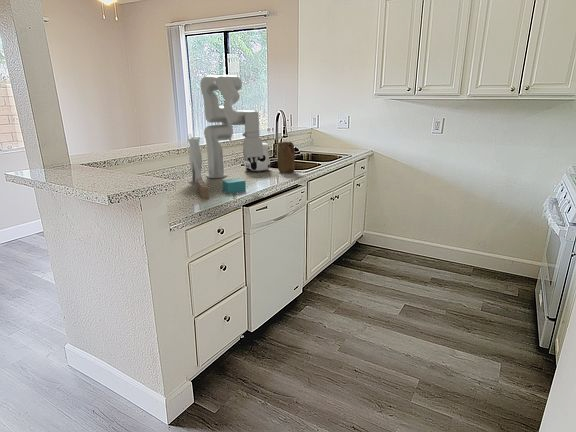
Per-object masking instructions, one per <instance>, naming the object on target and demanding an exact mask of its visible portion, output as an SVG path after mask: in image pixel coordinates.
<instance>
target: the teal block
mask: <svg viewBox="0 0 576 432" xmlns="http://www.w3.org/2000/svg"><path fill="white" fill-rule="evenodd" d="M221 181H222V191H223V192H225V193H227V194H228V195H230V193H231V194H237V192H238V193H243V192H246V191H247V187H246V186H247V185H246V180H244V179H242V178H241V177H237V178H228V179H222V180H221Z"/></svg>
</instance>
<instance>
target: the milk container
mask: <svg viewBox="0 0 576 432" xmlns="http://www.w3.org/2000/svg"><path fill="white" fill-rule="evenodd" d="M262 145H263V158H261V159H259V160H258V161H257V168H256V170H252V168H251V162H250V161H249V160H246V159H244V169H245V170H246V171H247V172H252V173H260V172H267V171H268V170H269V169H270V167H271V160H270V158H269V157H270V154H269V153H270V151H269V144H268V143H266V142H262ZM248 158H249V157H248ZM252 158H253V162H254V157H252Z"/></svg>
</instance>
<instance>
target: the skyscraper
mask: <svg viewBox="0 0 576 432" xmlns="http://www.w3.org/2000/svg"><path fill="white" fill-rule="evenodd" d="M189 137H190V138H189ZM200 140H201V137H200V136H192V134H191V133H189V134H188V136H187V141H188V143H189V146H188V147H189V148H188V160H189V166H190V170H191V174H192V176H191V180H190V181H188V183H189V184H192V185H197V183H196V179H202V180H203V181H204V179H203V176H202V173H201V172H202V168H203V167H202V166H203V156H202V150H201V146H200Z"/></svg>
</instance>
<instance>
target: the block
mask: <svg viewBox="0 0 576 432" xmlns="http://www.w3.org/2000/svg"><path fill="white" fill-rule="evenodd" d="M295 154H296V152H295V146H294V143H293V141H279V142H278V143H277V167H278V168H277V169H278V171H279V173H282V174H292V173H295V169H296V168H295V167H296V166H295V165H296V163H295Z"/></svg>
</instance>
